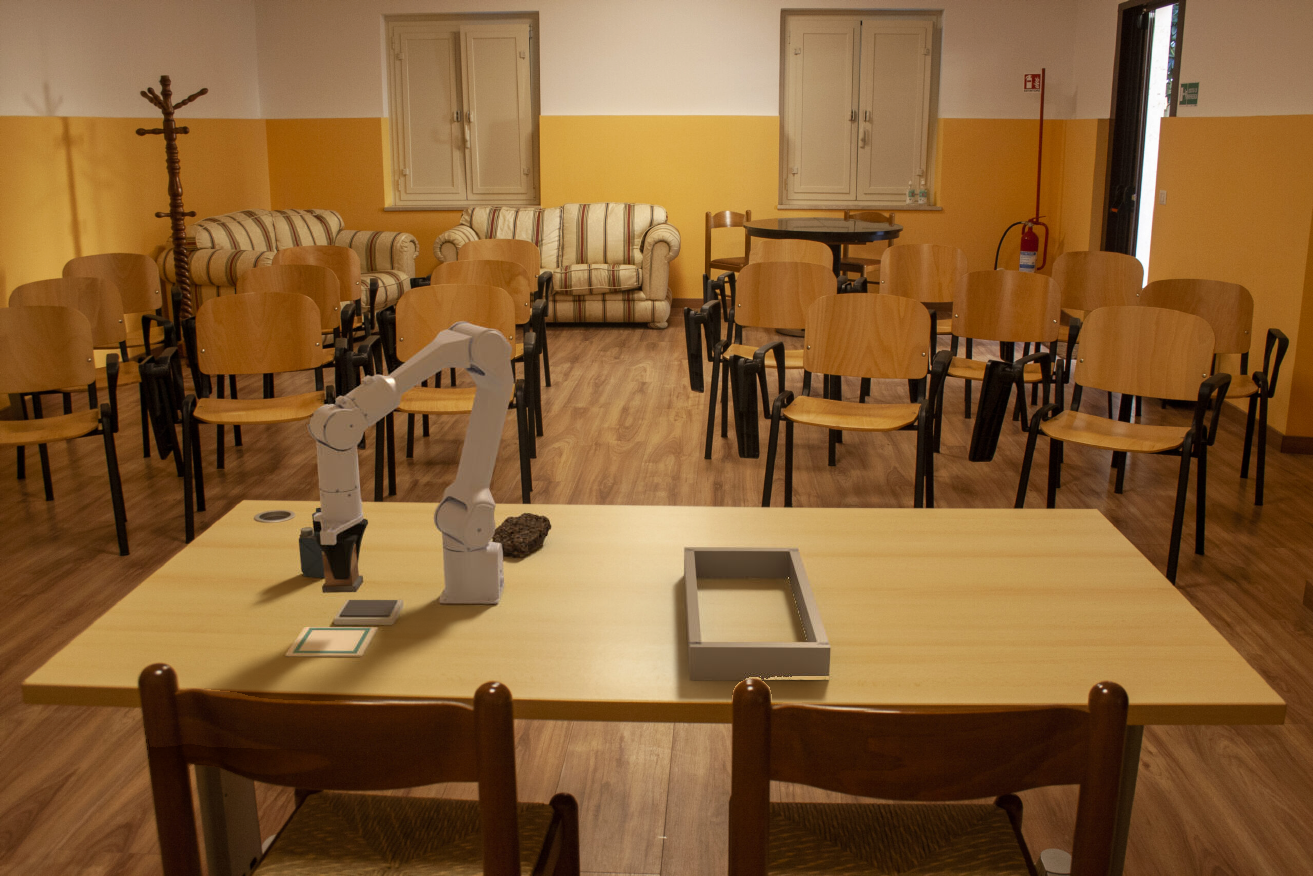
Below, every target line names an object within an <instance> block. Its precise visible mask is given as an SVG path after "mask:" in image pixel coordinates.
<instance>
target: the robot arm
mask: <svg viewBox="0 0 1313 876" xmlns="http://www.w3.org/2000/svg"><path fill="white" fill-rule="evenodd" d="M512 352H513V346H512V345H511V343H510V342H509V341H508V340H507V338H506V337H505V335H504V334H503V333H502V332H501V331H500V330H498V329H495V328H487V327H485V326H480V325H477V324H472V323H470V322H468V321H462V320H461V321H457V322H455V323H453V324H451V325H450V326H449V327H448V328H446V329H444V330H441V331H439V333H437V335H436V337H434V339H433V340H432V341H431V342H430V343H429V344H427V345H426V346H425V347H423V348H422V349H421V350H420V351H419V350H418V352H416V353H415V354H414V355H413V356H412V357H410V358H409V359H407V360H406V361H405V362H404V363H402V364H401V365H400V366H398V367H397V368H396V369H395V370H394V371H392V372H391V373H389V375H383V374H375V375H373V376H371V375H366V376H364V377H363V378H362V379H361V382H362V383H361V384H359V386H357V387H355V388H354V389H353V390H351V391H349V392H348V393H346V394H345V395H339V396H337V397H336V398H335V403H327V404H322V405H321V406H319V407H318V408H317V409H316V410H315V411H314V412H313V413H312V414H313V415H312V416H311V417H310V420H309V424H307V426H306V427H307V431H308V433H309V435H310V436H311V437H312V438H313V439H314V440H315V444H316V445H315V446H316V461H317V475H318V487H319V488H318V489H319V498H320V499H319V502H320V508H321V513H316V514H315V515H314V516H313V518H314V521H320V522H321V528H322V530H321V532H320V533H319V534H318V536H317V537H316V539H317V544H318V545H319V546H320V547H321V549H322V550H323V552H324V553H325V555H326V557H327V560H328V562H329V565H330V568H331V571H332V574H333V577H334V579H342V580H347V579H349V577H350V572H351V559H352V552H353V547H354V544H355V543H356V552H357V562H358V563H359V561H360V560H359V559H360V552H361V545H362V541H363V537H364V534H365V531H366V528H367V527H368V524H369V520H368V519H367V518H364V512H363V500H362V498H361V497H362V496H361V485H360V469H359V468H360V467H359V455H358V445H359V444H360V442H361V440H362V439H363V436H364V433H365V432H366V430H367V429H369V428H371V426H373V425H374V424H375V423H377V422H379V421H381V419H383V418H384V417H386V416H387V415H388V414H390V413H391V412H393V411H394V410H396V409H397V408H399V406H400V404H401V400H402V396H403V394H404V393H406V392H407V391H409V390H411V389H413V388H414V387H416V386H418V385H420V384H422V382H425V381H426V380H427V379H429V378H431V377H432V376H433V375H435V374H437V373H438V372H441V371H442V370H443V369H445V368H457V369H459V368H461V369H465V371H466V372H467V374H468V375H469V376H470V377H471V379H472V380H473V381H474V383H475V385H476V390H475V393H474V400H473V403H472V408H471V411H470V415H469V420H468V425H467V430H466V433H465V437H464V441H463V447H462V450H461V455H460V459H459V463H458V468H457V472H456V476H455V480H454V481H453V482H452V483H451V484H450V485H448V486H447V487H446V488H445V489H444V493H443V496H442V499H441V500H440V501H439V504H438V505H437V506H436V508H435V510H434V513H433V523H434V526H435V527H436V529H437V530H438V531H439V532H441V539H442V556H443V577H444V589H443V591H442V592H441V595H440V597H439V600H438V603H439V604H486V605H487V604H492V605H493V604H498V603H499V602H500V599H501V597H502V593H503V590H504V587H505V576H504V555H503V550H502V544H501V543H495V542H492V541H491V540H493V539H492V537H493V535H494V533H495V529H496V528H497V527H496V521H495V520H496V519H495V511H496V503H495V499H494V498H493V495H492V493H491V491H490V486H491V481H492V478H493V472H494V469H495V465H496V461H497V460H496V459H497V456H498V451H499V448H500V443H501V438H502V435H503V430H504V425H505V422H506V417H507V413H508V409H509V405H510V401H511V397H512V393H513V387H514V380H515V379H514V374H513V369H512V368H513V367H512V362H511V356H512Z"/></svg>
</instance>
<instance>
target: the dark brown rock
mask: <svg viewBox="0 0 1313 876" xmlns="http://www.w3.org/2000/svg"><path fill="white" fill-rule="evenodd" d="M551 529H552V524H551V521H550V519H549V518H548V517H547V516H545V515H539V514H533V513H532V512H523V513H521V514H520V515H519V516H507V518H505V519H504V520H503V521H502V522H501V524H500V525H498V527H495V533H494V535H493V537H492V539H491V540H492V541H491V542H495V543H501V544H502V550H503V556H508V557H511V558H517V557H521V558H522V557H524V556H525V555H528V554H529V555H530V553H531V552H532V551H533V550H535V549H537V548H538V547H540V546H542V545H544V543H545V539H547V538H546V537H548V535H549V531H550V530H551Z"/></svg>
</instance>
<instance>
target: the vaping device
mask: <svg viewBox="0 0 1313 876" xmlns="http://www.w3.org/2000/svg"><path fill="white" fill-rule="evenodd" d="M316 513H321V507H316V508H315V512H313V513H311V516H312V517H311V518H312V519H311V520H312V527H311V526H306V527H302V528H300V534H299V538H298V548H299V559H300V560H299V561H300V569H301V573H302V575H303V576H304V577H307V578H319V579H320V578H321V579H322V578H324V579H325V575H324V566H323V557H322V552H323V550H322V549H321V547H320V546H319V545H318V544H317V539H316V537H317V536H318V534H319V533H320V532H321V530H322V528H321V522H320V521H314V518H313V516H314V515H315V514H316Z"/></svg>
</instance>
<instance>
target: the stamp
mask: <svg viewBox="0 0 1313 876" xmlns="http://www.w3.org/2000/svg"><path fill="white" fill-rule="evenodd" d="M322 557H323V566H324V575H325V578H324V583H323V584H322V585H321V590H322V593H323V594H324V593H325V594H327V593H328V594H329V593H330V594H331V593H332V594H333V593H335V594H336V593H338V594H339V593H357V592H358V590H359V589H360V588H361V586H362V584H363V583H364V577H363V576H364V575H360V573H359V565H358V564H359V561H358V562H357V552H356V543H355V544H354V547H353V552H352V559H351V572H350V577H349V579H347V580H342V579H334V577H333V574H332V571H331V568H330V565H329V562H328V560H327V557H326V555H325V553H324V552H322Z"/></svg>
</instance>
